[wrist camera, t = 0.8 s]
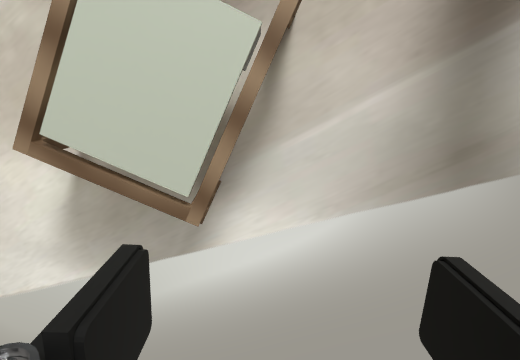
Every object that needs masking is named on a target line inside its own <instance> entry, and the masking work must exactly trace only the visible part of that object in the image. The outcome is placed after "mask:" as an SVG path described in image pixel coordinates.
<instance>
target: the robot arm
mask: <svg viewBox="0 0 520 360" xmlns="http://www.w3.org/2000/svg"><path fill="white" fill-rule="evenodd" d="M151 324H152V315H151V295H150V274H149V254H148V250H143V247H142V246H141V245H126V244H123V245H122V246H121V247H120V248H119V249H118V250H117V251H116V252H115V253H114V254H113V255H112V256H111V257H110V258H109V259H108V261H107V262H106V263H105V264H104V265H103V266H102V267H101V268H100V269H99V270H98V271H97V272H96V273H95V274H94V276H93V277H92V278H91V279H90V280H89V281H88V282H87V283H86V284H85V285H84V286H83V288H82V289H81V290H80V291H79V292H78V293H77V294H76V295H75V296H74V297H73V298H72V299H71V300H70V301H69V303H68V304H67V305H66V306H65V307H64V308H63V309H62V310H61V311H60V312H59V313H58V314H57V315H56V317H55V318H54V319H53V320H52V321H51V322H50V323H49V324H48V325H47V326H46V327H45V328H44V330H43V331H42V332H41V333H40V334H39V335H38V336H37V337H36V338H35V339H34V340H33V341H32V342H31V344H29V343H20V342H17V343H9V344H5V345H1V346H0V360H137V359H138V357H139V355H140V353H141V350H142V348H143V346H144V344H145V342H146V340H147V337H148V335H149V333H150V330H151ZM419 336H420V339H421V342H422V344H423V345H424V347H425V348H426V350H427V351H428V353H429V354H430V356H431V357H432V359H433V360H520V304H519V303H518V302H516V301H515V300H514V299H513V298H511V297H510V296H509V295H507V294H506V293H505V292H504V291H502V290H501V289H500V288H499V287H497V286H496V285H495V284H494V283H492V282H491V281H490V280H488V279H487V278H486V277H485V276H483V275H482V274H481V273H480V272H478V271H477V270H476V269H474V268H473V267H472V266H471V265H470V264H468V263H467V262H466V261H464V260H463V259H462V258H460V257H440V258H439V259H438V260H437V261H434V262H433V264H432V269H431V273H430V279H429V283H428V289H427V294H426V299H425V303H424V309H423V313H422V318H421V324H420V328H419Z"/></svg>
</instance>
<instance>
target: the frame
mask: <svg viewBox="0 0 520 360" xmlns="http://www.w3.org/2000/svg"><path fill="white" fill-rule="evenodd" d="M301 1H302V0H280V3H279V5H278V7H277V10H276V12H275V14H274V17H273V19H272V21H271V24H270V26H269V28H268V31H267V33H266V35H265V38H264V40H263V42H262V45H261V47H260V49H259V51H258V54H257V56H256V58H255V61H254V63H253V65H252V68H251V70H250V72H249V75H248V77H247V79H246V82H245V84H244V86H243V89H242V91H241V93H240V96H239V98H238V100H237V103H236V105H235V107H234V110H233V112H232V114H231V117H230V119H229V121H228V124H227V126H226V128H225V130H224V133H223V135H222V137H221V140H220V142H219V144H218V147H217V149H216V151H215V154H214V156H213V158H212V161H211V163H210V165H209V168H208V170H207V172H206V175H205V177H204V179H203V182H202V184H201V186H200V189H199V191H198V193H197V195H196V197H195V198H194V200H193V201H192V203H191V204H190V203H187V202H185V201H183V200H180V199H178V198H176V197H173V196H171V195H169V194H166V193H164V192H162V191H159V190H157V189H155V188H152V187H150V186H148V185H145V184H143V183H141V182H138V181H136V180H133V179H131V178H129V177H126V176H124V175H122V174H119V173H117V172H115V171H112V170H110V169H108V168H105V167H103V166H101V165H98V164H96V163H94V162H91V161H89V160H86V159H84V158H82V157H79V156H77V155H75V154H72V153H70V152H68V151H65V150H63V149H65V148H69V146H66V145H64V144H62V143H59V142H57V141H55V140H52V139H50V138H48V137H45V136H43V135H41V134H39V133H40V130H41V126H42V123H43V119H44V116H45V112H46V109H47V105H48V102H49V98H50V95H51V91H52V88H53V84H54V81H55V77H56V74H57V70H58V67H59V63H60V60H61V56H62V53H63V49H64V46H65V42H66V39H67V35H68V32H69V28H70V25H71V21H72V18H73V14H74V11H75V7H76V4H77V0H52V3H51V6H50V10H49V14H48V18H47V21H46V25H45V29H44V33H43V36H42V40H41V44H40V48H39V51H38V55H37V59H36V63H35V66H34V70H33V74H32V78H31V81H30V85H29V89H28V93H27V96H26V100H25V104H24V108H23V111H22V115H21V119H20V122H19V126H18V130H17V134H16V137H15V141H14V145H13V149H14V150H16V151H19V152H21V153H23V154H26V155H28V156H31V157H33V158H35V159H38V160H40V161H42V162H45V163H47V164H50V165H52V166H54V167H57V168H59V169H62V170H64V171H66V172H69V173H71V174H74V175H76V176H78V177H81V178H83V179H85V180H88V181H90V182H93V183H95V184H97V185H100V186H102V187H105V188H107V189H109V190H112V191H114V192H117V193H119V194H121V195H124V196H126V197H128V198H131V199H133V200H136V201H138V202H140V203H143V204H145V205H148V206H150V207H152V208H155V209H157V210H160V211H162V212H164V213H167V214H169V215H171V216H174V217H176V218H179V219H181V220H183V221H186V222H188V223H191V224H193V225H195V226H199V224H202V223H203V221H204V218H205V216H206V214H207V212H208V209H209V207H210V205H211V203H212V201H213V198H214V196H215V194H216V192H217V189H218V187H219V185H220V183H221V181H220V180H219V179H220V177H221V174H222V172H223V170H224V168H225V165H226V163H227V161H228V159H229V156H230V154H231V152H232V150H233V147H234V145H235V143H236V141H237V138H238V136H239V134H240V132H241V129H242V127H243V125H244V123H245V120H246V118H247V116H248V114H249V111H250V109H251V107H252V104H253V102H254V100H255V98H256V95H257V93H258V91H259V89H260V86H261V84H262V82H263V80H264V77H265V75H266V73H267V71H268V68H269V66H270V64H271V62H272V59H273V57H274V55H275V53H276V50H277V48H278V46H279V44H280V41H281V39H282V37H283V35H284V32H285V30H286V28H288V29H289V28H290V26H291V23H292V21H293V19H294V17H295V14H296V12H297V10H298V8H299V5H300V3H301Z"/></svg>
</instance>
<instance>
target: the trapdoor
mask: <svg viewBox="0 0 520 360" xmlns="http://www.w3.org/2000/svg"><path fill="white" fill-rule="evenodd" d="M261 25H262V22H261V21H259V20H257V19H255V18H253V17H251V16H249V15H247V14H245V13H244V12H242V11H240V10H238V9H236V8H234V7H232V6H230V5H228V4H226V3H224V2H222V1H220V0H77V4H76V7H75V11H74V14H73V18H72V21H71V25H70V28H69V32H68V35H67V39H66V42H65V46H64V49H63V53H62V56H61V60H60V63H59V67H58V70H57V74H56V77H55V81H54V84H53V88H52V91H51V95H50V98H49V102H48V105H47V109H46V112H45V116H44V119H43V123H42V126H41V130H40V133H39V134H41V135H43V136H45V137H48V138H50V139H52V140H55V141H57V142H59V143H62V144H64V145H66V146H69V147H71V148H73V149H76V150H78V151H80V152H83V153H85V154H87V155H90V156H92V157H94V158H97V159H99V160H101V161H104V162H106V163H108V164H111V165H113V166H115V167H118V168H120V169H122V170H125V171H127V172H129V173H132V174H134V175H136V176H139V177H141V178H143V179H146V180H148V181H150V182H153V183H155V184H157V185H160V186H162V187H164V188H167V189H169V190H172V191H174V192H176V193H179V194H181V195H183V196H186V197H188V196H189V195H190V192H191V190H192V188H193V185H194V183H195V181H196V178H197V176H198V174H199V171H200V169H201V166H202V164H203V162H204V159H205V157H206V155H207V152H208V150H209V148H210V145H211V143H212V141H213V138H214V136H215V133H216V131H217V129H218V126H219V124H220V122H221V119H222V117H223V115H224V112H225V110H226V108H227V105H228V103H229V100H230V98H231V96H232V93H233V91H234V89H235V86H236V84H237V82H238V79H239V77H240V75H241V72H242V70H244V71H245V70H246V68H247V66H248V63H249V61H250V59H251V56H252V54H253V52H254V49H255V47H256V45H257V42H258V40H259V37H260V35H261Z"/></svg>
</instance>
